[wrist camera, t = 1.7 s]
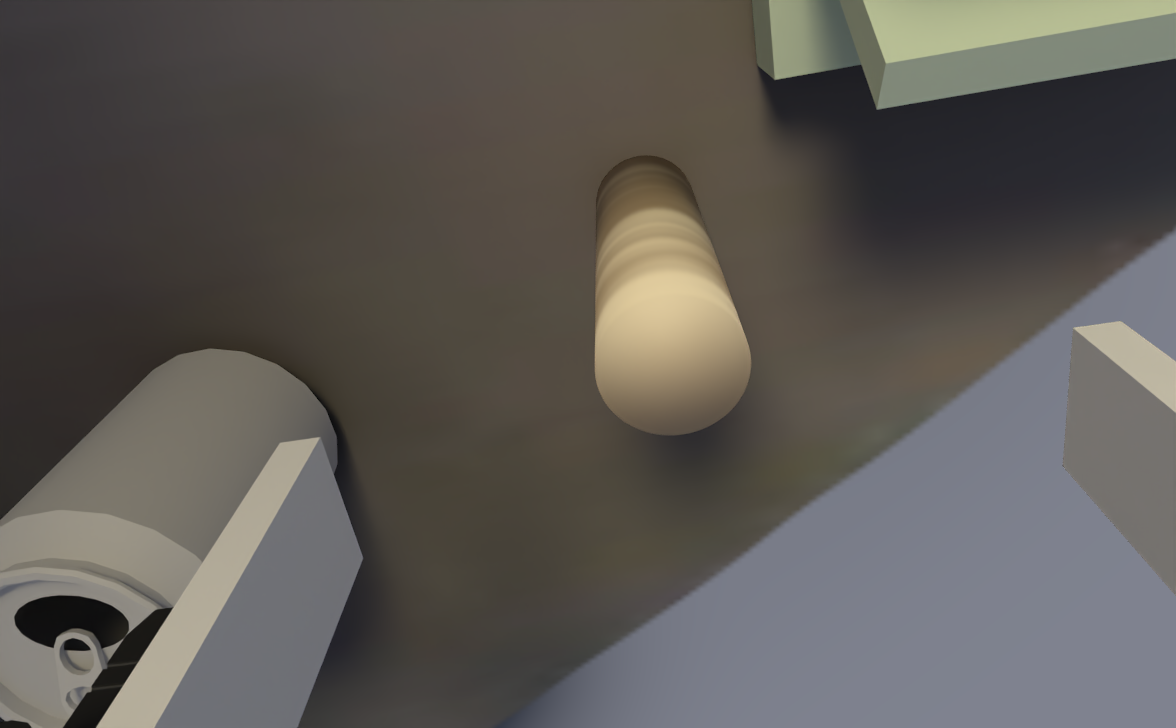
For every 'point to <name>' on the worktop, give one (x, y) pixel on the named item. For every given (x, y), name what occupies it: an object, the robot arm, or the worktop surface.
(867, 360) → the worktop surface
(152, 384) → the can
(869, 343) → the worktop surface
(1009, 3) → the socket
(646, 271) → the dowel
